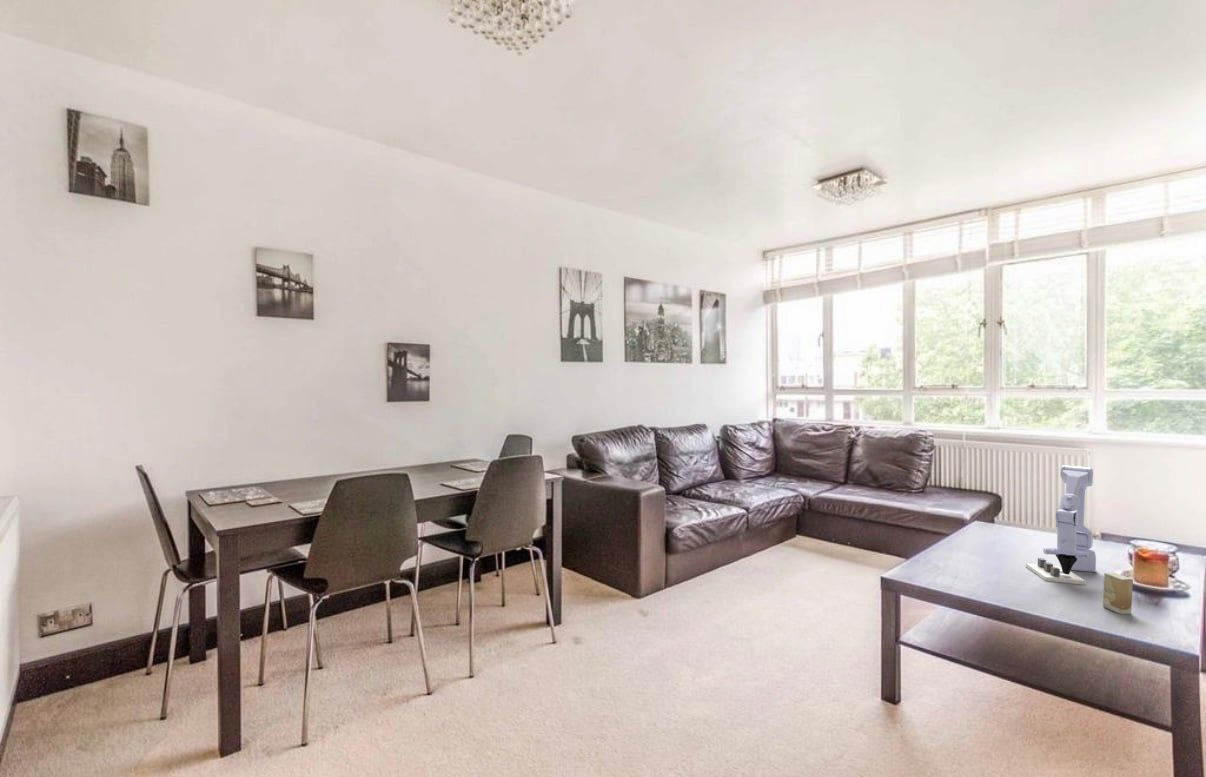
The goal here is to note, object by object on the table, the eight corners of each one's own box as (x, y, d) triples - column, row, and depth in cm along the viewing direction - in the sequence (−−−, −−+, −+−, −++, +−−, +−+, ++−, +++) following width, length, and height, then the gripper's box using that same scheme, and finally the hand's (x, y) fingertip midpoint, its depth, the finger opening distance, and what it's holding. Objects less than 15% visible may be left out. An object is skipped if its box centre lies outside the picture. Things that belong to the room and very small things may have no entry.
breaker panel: (1062, 570, 226) (1062, 559, 226) (1085, 584, 210) (1085, 572, 210) (1025, 566, 230) (1026, 555, 230) (1045, 580, 213) (1045, 568, 213)
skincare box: (1102, 606, 189) (1102, 572, 188) (1113, 606, 189) (1114, 572, 189) (1121, 614, 182) (1121, 579, 182) (1132, 614, 183) (1133, 578, 182)
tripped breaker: (1056, 574, 216) (1056, 566, 216) (1059, 576, 213) (1059, 568, 213) (1050, 573, 216) (1050, 566, 216) (1053, 575, 214) (1053, 567, 214)
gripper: (1049, 540, 212) (1049, 574, 212) (1094, 544, 208) (1093, 579, 208) (1041, 535, 219) (1040, 568, 219) (1084, 539, 215) (1083, 572, 215)
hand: (1065, 573), depth 214 cm, fingers closed
